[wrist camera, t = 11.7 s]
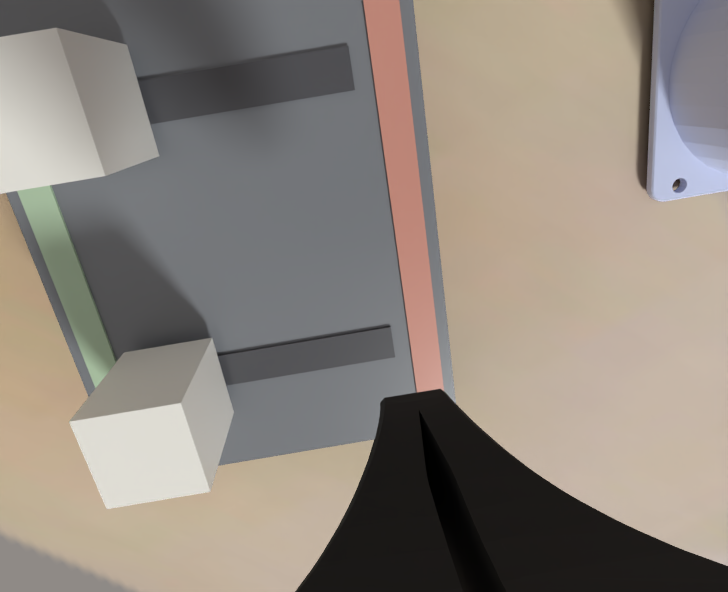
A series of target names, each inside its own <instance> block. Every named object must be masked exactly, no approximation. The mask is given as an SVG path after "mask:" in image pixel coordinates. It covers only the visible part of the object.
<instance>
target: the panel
mask: <svg viewBox="0 0 728 592" xmlns="http://www.w3.org/2000/svg"><path fill="white" fill-rule="evenodd" d="M51 28H60V29H64V30H68V31H72V32H76V33H81V34H85V35H89V36H93V37H97V38H101V39H105V40H109V41H114V42H118V43H122V44H126V45H127V46H128V50H129V53H130V57H131V60H132V64H133V67H134V70H135V74H136V77H137V81H138V84H139V88H140V91H141V95H142V98H143V101H144V105H145V108H146V112H147V115H148V119H149V122H150V126H151V129H152V132H153V136H154V139H155V143H156V146H157V150H158V153H159V157H156V158H153V159H150V160H148V161H145V162H142V163H140V164H137V165H134V166H131V167H129V168H126V169H123V170H121V171H118V172H115V173H112V174H110V175H107V176H103V177H97V178H91V179H85V180H79V181H73V182H67V183H61V184H55V185H49V186H43V187H37V188H31V189H25V190H19V191H13V192H7V193H6V194H7V196H8V199H9V201H10V204H11V206H12V209H13V211H14V214H15V216H16V219H17V221H18V224H19V226H20V229H21V231H22V233H23V236H24V238H25V241H26V243H27V246H28V248H29V251H30V253H31V256H32V258H33V261H34V263H35V266H36V268H37V270H38V273H39V275H40V278H41V280H42V283H43V285H44V288H45V290H46V293H47V295H48V298H49V300H50V302H51V305H52V307H53V310H54V312H55V315H56V317H57V320H58V322H59V325H60V327H61V330H62V332H63V335H64V337H65V339H66V342H67V344H68V347H69V349H70V352H71V354H72V357H73V359H74V362H75V364H76V367H77V369H78V372H79V374H80V376H81V379H82V381H83V384H84V386H85V389H86V391H87V394H88V396H90V395H91V393H92V392H93V391H94V390H95V388H96V387H97V386H98V385H99V383H100V382H101V381H102V380H103V378H104V377H105V376H106V375H107V373H108V372H109V371H110V370H111V368H112V367H113V366H114V364H115V363H116V362H117V361H118V359H119V358H120V357H121V356H122V354H123V353H124V352H130V351H136V350H142V349H148V348H154V347H160V346H165V345H171V344H177V343H183V342H189V341H195V340H201V339H207V338H212V339H213V342H214V346H215V349H216V352H217V356H218V359H219V363H220V366H221V370H222V373H223V377H224V380H225V383H226V387H227V390H228V394H229V397H230V401H231V404H232V407H233V411H234V414H233V417H232V421H231V424H230V428H229V431H228V434H227V438H226V441H225V444H224V448H223V451H222V454H221V458H220V461H219V464H218V466H219V465H225V464H230V463H236V462H242V461H248V460H254V459H260V458H266V457H272V456H278V455H284V454H290V453H296V452H302V451H308V450H314V449H320V448H326V447H331V446H337V445H343V444H349V443H355V442H361V441H367V440H373V439H375V436H376V432H377V427H378V423H379V417H380V402H381V401H382V400H383V399H384V398H385V397H392V396H398V395H404V394H410V393H417V392H423V391H429V390H435V389H441V390H443V391H444V392H446V393H447V395H448V396H449V397H450V398H451V399H452V400H453V401H454V402H455V403H456V400H455V391H454V381H453V372H452V363H451V353H450V344H449V334H448V325H447V316H446V306H445V297H444V287H443V278H442V269H441V259H440V250H439V241H438V231H437V222H436V212H435V203H434V194H433V184H432V175H431V165H430V156H429V147H428V137H427V128H426V119H425V109H424V100H423V90H422V81H421V72H420V62H419V53H418V43H417V34H416V25H415V15H414V6H413V0H0V37H3V36H9V35H15V34H21V33H27V32H33V31H39V30H45V29H51Z"/></svg>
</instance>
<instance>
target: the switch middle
mask: <svg viewBox="0 0 728 592" xmlns="http://www.w3.org/2000/svg"><path fill="white" fill-rule="evenodd" d="M156 157H159V153H158V150H157V146H156V143H155V139H154V136H153V132H152V129H151V126H150V122H149V119H148V115H147V112H146V108H145V105H144V101H143V98H142V95H141V91H140V88H139V84H138V81H137V77H136V74H135V70H134V67H133V64H132V60H131V57H130V53H129V50H128V46H127V45H126V44H122V43H118V42H114V41H109V40H105V39H101V38H97V37H93V36H89V35H85V34H81V33H76V32H72V31H68V30H64V29H60V28H51V29H45V30H39V31H33V32H27V33H21V34H15V35H9V36H3V37H0V194H1V193H7V192H13V191H19V190H25V189H31V188H37V187H43V186H49V185H55V184H61V183H67V182H73V181H79V180H85V179H91V178H97V177H103V176H107V175H110V174H112V173H115V172H118V171H121V170H123V169H126V168H129V167H131V166H134V165H137V164H140V163H142V162H145V161H148V160H150V159H153V158H156Z"/></svg>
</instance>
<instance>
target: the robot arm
mask: <svg viewBox="0 0 728 592" xmlns="http://www.w3.org/2000/svg"><path fill="white" fill-rule="evenodd" d="M677 179H680V185H679V187H678V188H677V189H676V190H674V191H673V188H672V186H673V183H674V182H675V181H676V180H677ZM723 191H728V0H655V1H654V24H653V48H652V71H651V95H650V118H649V142H648V166H647V194H648V195H649V197H650V198H652V199H654V200H657V201H670V200H675V199H681V198H687V197H693V196H699V195H705V194H711V193H717V192H723ZM295 592H728V566H726V565H723V564H720V563H717V562H715V561H712V560H709V559H706V558H704V557H701V556H698V555H695V554H693V553H690V552H687V551H684V550H682V549H679V548H677V547H674V546H672V545H670V544H668V543H665V542H663V541H661V540H658V539H656V538H654V537H651V536H649V535H647V534H645V533H642V532H640V531H638V530H636V529H634V528H631V527H629V526H627V525H625V524H623V523H621V522H619V521H617V520H615V519H613V518H611V517H609V516H607V515H605V514H603V513H601V512H600V511H598V510H596V509H594V508H592V507H590V506H588V505H586V504H585V503H583V502H581V501H579V500H577V499H576V498H574V497H572V496H570V495H569V494H567V493H565V492H564V491H562V490H561V489H559V488H557V487H556V486H554V485H553V484H551V483H550V482H548V481H547V480H545V479H543V478H542V477H541V476H539V475H538V474H536V473H535V472H533V471H532V470H531V469H529V468H528V467H527V466H525V465H524V464H523V463H521V462H520V461H519V460H518V459H516V458H515V457H514V456H512V455H511V454H510V453H509V452H507V451H506V450H505V449H504V448H503V447H501V446H500V445H499V444H498V443H497V442H495V441H494V440H493V439H492V438H491V437H490V436H489V435H488V434H486V433H485V432H484V431H483V430H482V429H481V428H480V427H479V426H478V425H476V424H475V423H474V422H473V421H472V420H471V419H470V418H469V417H468V416H467V415H466V414H465V413H464V412H463V411H462V410H461V409H460V408H459V407H458V406H457V405H456V403H455V402H454V401H453V400H452V399H451V398H450V397H449V396H448V395H447V393H446V392H444V391H443V390H441V389H435V390H429V391H423V392H417V393H410V394H404V395H398V396H392V397H385V398H384V399H383V400H382V401H381V402H380V417H379V423H378V427H377V432H376V436H375V439H374V443H373V446H372V449H371V453H370V456H369V459H368V462H367V465H366V467H365V470H364V472H363V475H362V477H361V480H360V482H359V485H358V488H357V490H356V492H355V494H354V497H353V499H352V501H351V503H350V505H349V507H348V509H347V511H346V513H345V515H344V517H343V519H342V521H341V523H340V525H339V526H338V528H337V530H336V532H335V533H334V535H333V537H332V538H331V540H330V542H329V543H328V545H327V547H326V548H325V550H324V552H323V553H322V555H321V556H320V558H319V559H318V561H317V562H316V564H315V565H314V567H313V568H312V570H311V571H310V573H309V574H308V575H307V577H306V578H305V579H304V581H303V582H302V583H301V585H300V586H299V587H298V589H297V590H296V591H295Z"/></svg>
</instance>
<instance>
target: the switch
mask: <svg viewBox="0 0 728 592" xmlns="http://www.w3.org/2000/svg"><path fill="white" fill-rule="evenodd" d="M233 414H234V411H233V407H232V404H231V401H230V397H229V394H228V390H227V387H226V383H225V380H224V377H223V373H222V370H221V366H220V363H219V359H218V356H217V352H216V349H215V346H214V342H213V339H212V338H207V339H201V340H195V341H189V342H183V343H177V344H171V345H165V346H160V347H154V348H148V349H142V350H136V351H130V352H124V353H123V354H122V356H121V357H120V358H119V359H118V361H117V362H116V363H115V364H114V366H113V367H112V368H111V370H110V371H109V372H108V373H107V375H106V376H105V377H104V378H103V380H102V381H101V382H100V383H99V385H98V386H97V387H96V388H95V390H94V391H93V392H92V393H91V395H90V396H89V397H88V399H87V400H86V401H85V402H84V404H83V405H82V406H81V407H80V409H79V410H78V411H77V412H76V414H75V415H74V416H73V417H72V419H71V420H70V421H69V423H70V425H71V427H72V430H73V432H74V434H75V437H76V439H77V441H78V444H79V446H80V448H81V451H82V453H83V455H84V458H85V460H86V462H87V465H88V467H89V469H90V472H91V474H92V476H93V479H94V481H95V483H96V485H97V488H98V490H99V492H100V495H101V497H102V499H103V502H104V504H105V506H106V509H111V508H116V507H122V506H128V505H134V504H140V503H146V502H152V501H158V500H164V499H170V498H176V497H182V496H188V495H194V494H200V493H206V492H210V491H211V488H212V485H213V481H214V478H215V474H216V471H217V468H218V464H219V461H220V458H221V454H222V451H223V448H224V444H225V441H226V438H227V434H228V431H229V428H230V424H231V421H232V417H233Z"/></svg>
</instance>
